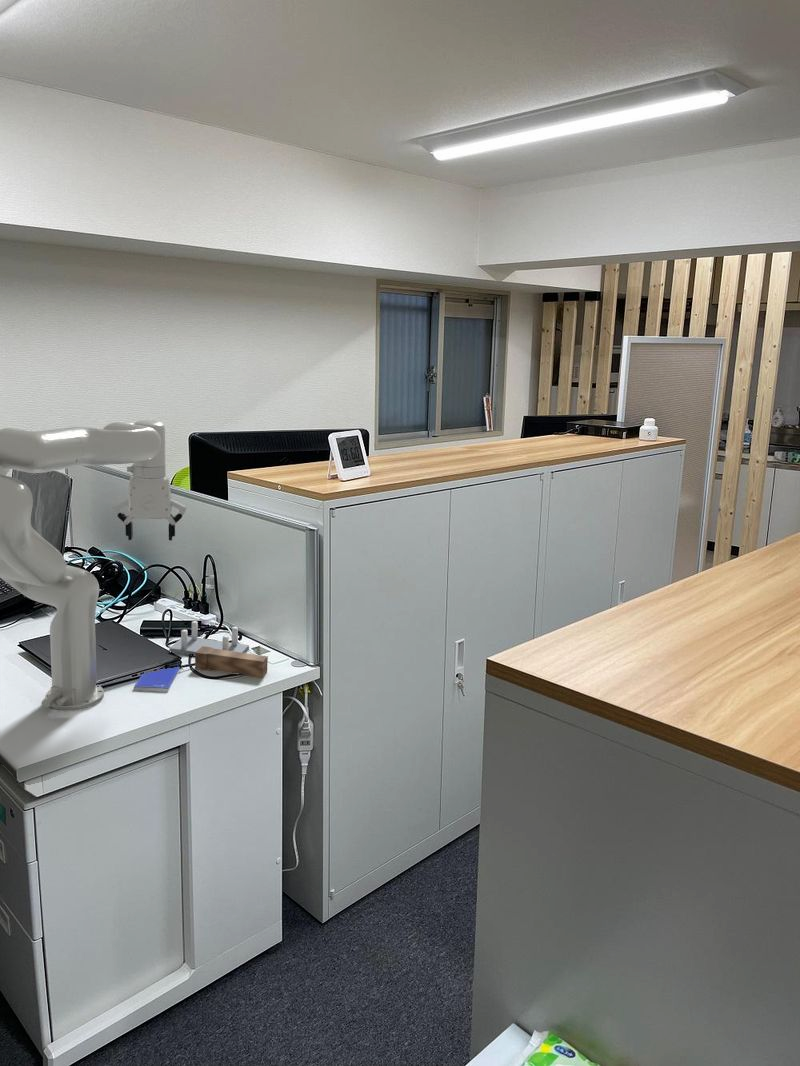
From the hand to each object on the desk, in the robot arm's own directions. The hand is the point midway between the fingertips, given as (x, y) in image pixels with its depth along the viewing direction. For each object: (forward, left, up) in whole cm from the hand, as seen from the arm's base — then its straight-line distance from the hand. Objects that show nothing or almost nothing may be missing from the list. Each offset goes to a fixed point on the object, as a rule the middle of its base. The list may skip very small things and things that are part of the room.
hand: (150, 538), depth 198 cm
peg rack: (+11, -12, -33) cm, 36 cm away
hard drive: (-10, -7, -34) cm, 36 cm away
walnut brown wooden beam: (+1, -22, -33) cm, 39 cm away
